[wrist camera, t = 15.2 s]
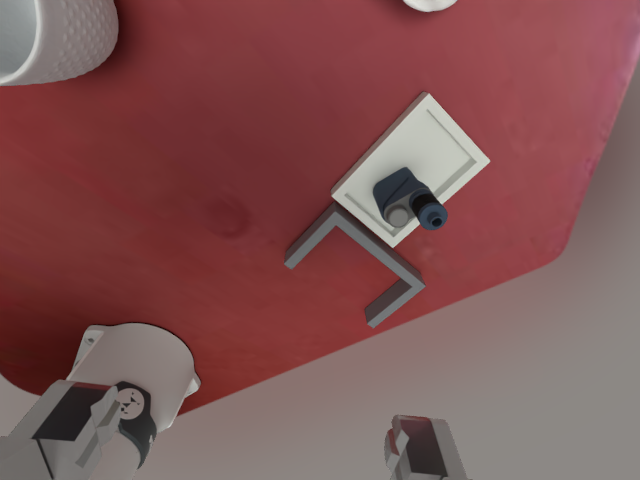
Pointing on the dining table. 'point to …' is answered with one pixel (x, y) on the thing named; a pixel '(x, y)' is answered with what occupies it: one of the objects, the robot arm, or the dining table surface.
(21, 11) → the mug
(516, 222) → the dining table surface
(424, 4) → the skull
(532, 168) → the dining table surface
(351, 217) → the bay
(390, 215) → the vaping device
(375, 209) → the tray
